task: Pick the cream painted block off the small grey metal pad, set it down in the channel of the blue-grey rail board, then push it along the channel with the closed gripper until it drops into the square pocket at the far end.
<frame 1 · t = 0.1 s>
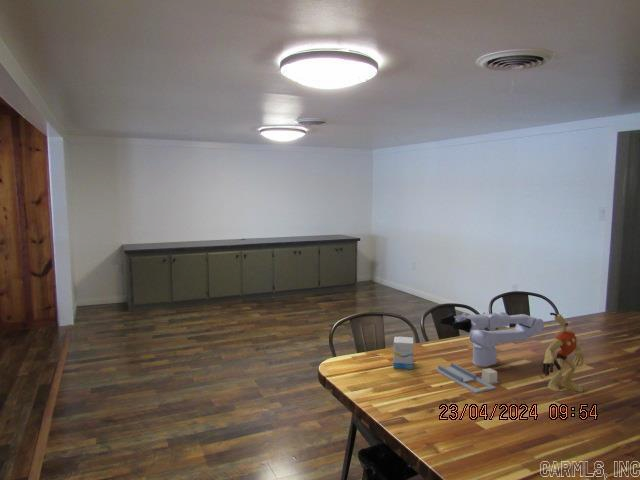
hand: (446, 323, 181), 22 cm above the table, tool horizontal, fingers open, 7 cm apart
rail board: (464, 382, 175), on the table
ink box: (403, 365, 193), on the table
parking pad: (489, 384, 173), on the table
block: (489, 380, 173), point 1 cm above the table, touching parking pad
toy: (559, 392, 166), on the table
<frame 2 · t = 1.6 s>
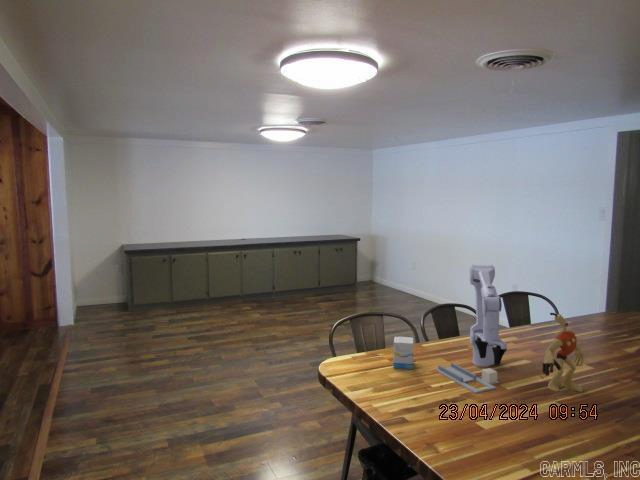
hand: (489, 361, 172), 9 cm above the table, tool pointing down, fingers open, 7 cm apart
nothing on the table moved.
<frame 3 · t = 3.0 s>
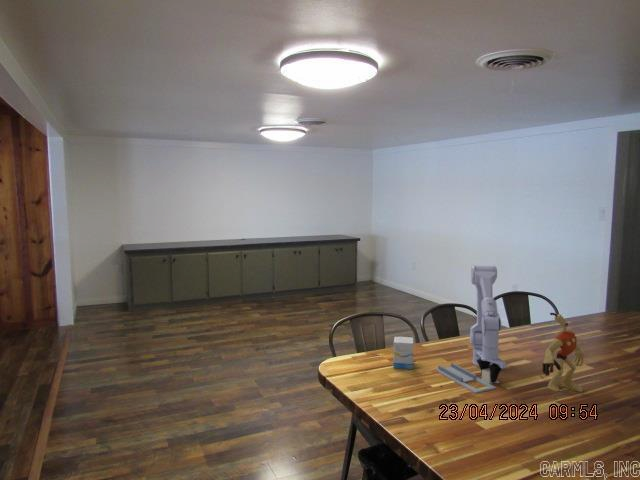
hand: (489, 379, 173), 2 cm above the table, tool pointing down, fingers closed on block, 4 cm apart
block: (489, 380, 173), point 1 cm above the table, touching gripper, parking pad
everything else where it was.
when the fingers open (3 cm above the table, at t = 5.9 s): block stays where it is, resting on rail board.
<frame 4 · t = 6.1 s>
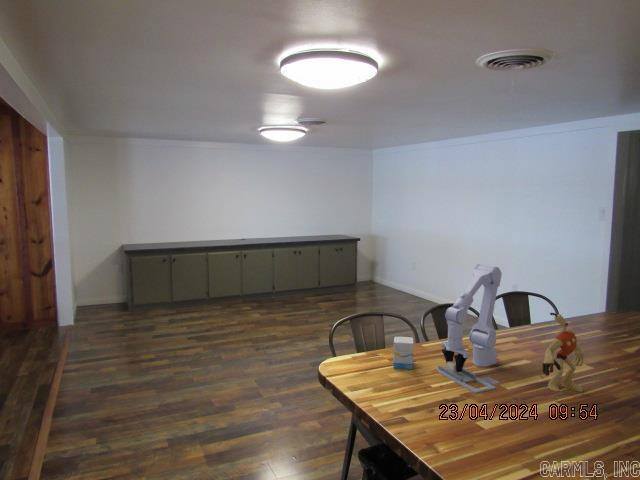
hand: (454, 369, 180), 3 cm above the table, tool pointing down, fingers open, 5 cm apart
block: (453, 372, 180), point 2 cm above the table, touching rail board
everything else where it was.
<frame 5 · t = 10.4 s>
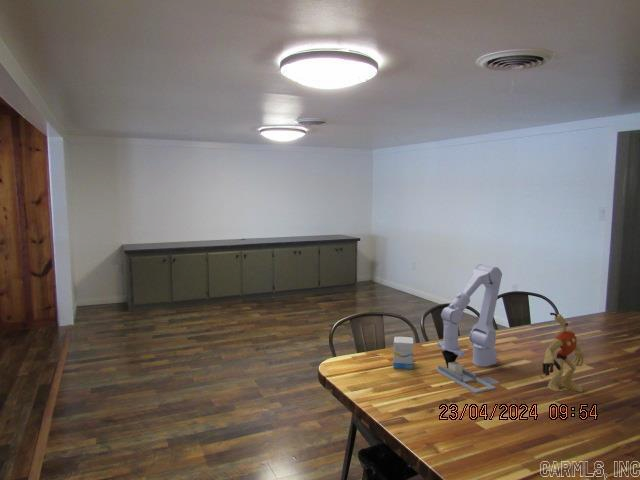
hand: (450, 368, 182), 3 cm above the table, tool pointing down, fingers closed
block: (455, 373, 179), point 2 cm above the table, touching gripper
everything else where it was.
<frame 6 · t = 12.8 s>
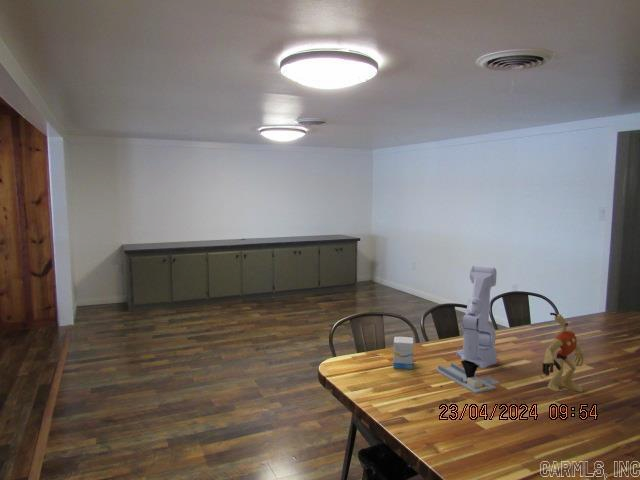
hand: (469, 379, 172), 3 cm above the table, tool pointing down, fingers closed
block: (471, 382, 171), point 2 cm above the table, tilted 90°, touching gripper
everything else where it was.
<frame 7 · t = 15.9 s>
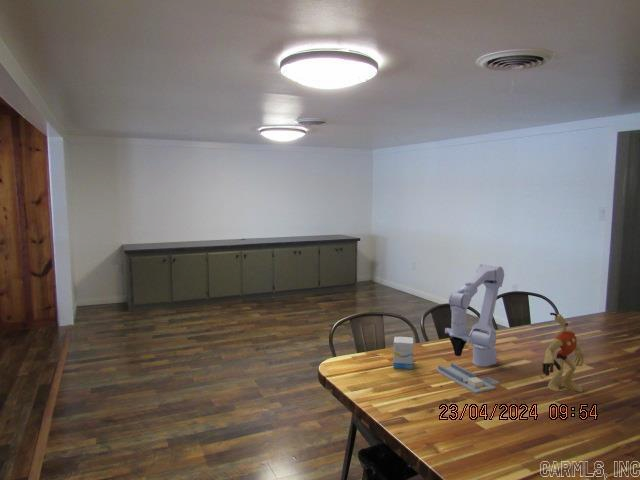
hand: (458, 355, 177), 10 cm above the table, tool pointing down, fingers closed
block: (471, 382, 170), point 2 cm above the table, tilted 90°
everything else where it was.
at the end: block inside the target area (1.6 cm from its centre), point 1.9 cm above the table; block touching table; the gripper is holding nothing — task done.
